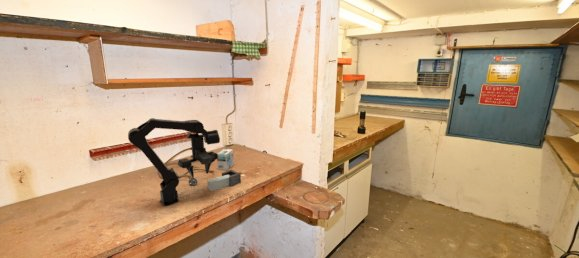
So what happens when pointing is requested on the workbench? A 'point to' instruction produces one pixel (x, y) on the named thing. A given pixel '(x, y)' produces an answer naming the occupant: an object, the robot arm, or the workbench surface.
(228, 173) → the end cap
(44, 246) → the workbench surface
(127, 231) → the workbench surface
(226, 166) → the light bulb box
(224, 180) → the grey rectangular block
